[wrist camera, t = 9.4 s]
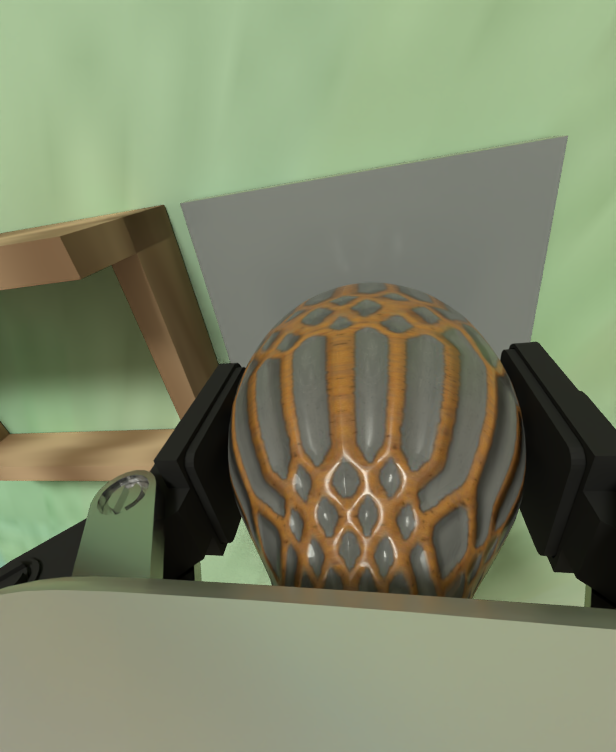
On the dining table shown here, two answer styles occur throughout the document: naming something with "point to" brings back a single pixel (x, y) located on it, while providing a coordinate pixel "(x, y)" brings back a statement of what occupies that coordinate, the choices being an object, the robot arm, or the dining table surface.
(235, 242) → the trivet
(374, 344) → the vase
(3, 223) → the dining table surface
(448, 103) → the dining table surface
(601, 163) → the dining table surface
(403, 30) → the dining table surface
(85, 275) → the wooden frame
